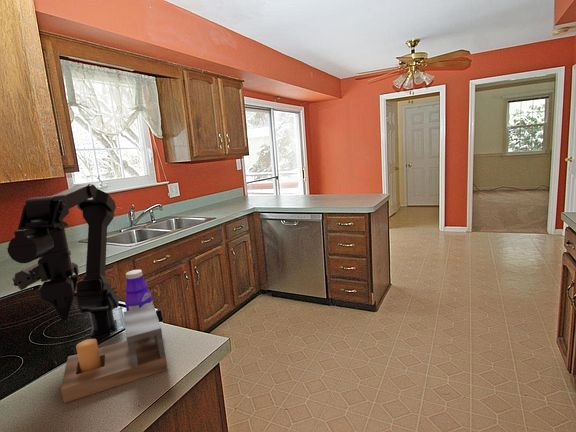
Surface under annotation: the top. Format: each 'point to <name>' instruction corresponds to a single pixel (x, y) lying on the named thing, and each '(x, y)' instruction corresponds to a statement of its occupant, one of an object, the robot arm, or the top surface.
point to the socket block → (120, 358)
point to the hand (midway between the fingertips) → (67, 313)
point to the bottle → (137, 291)
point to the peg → (88, 355)
